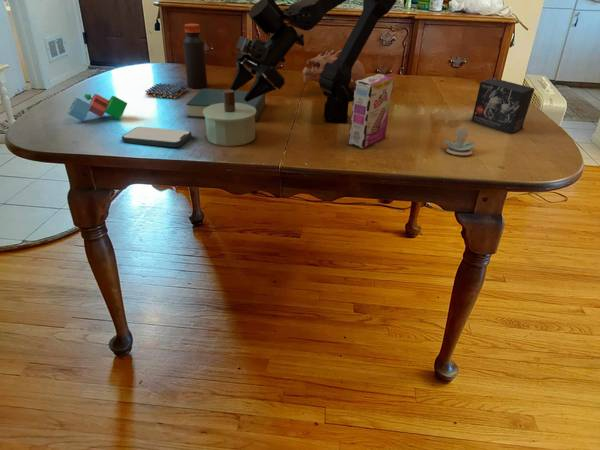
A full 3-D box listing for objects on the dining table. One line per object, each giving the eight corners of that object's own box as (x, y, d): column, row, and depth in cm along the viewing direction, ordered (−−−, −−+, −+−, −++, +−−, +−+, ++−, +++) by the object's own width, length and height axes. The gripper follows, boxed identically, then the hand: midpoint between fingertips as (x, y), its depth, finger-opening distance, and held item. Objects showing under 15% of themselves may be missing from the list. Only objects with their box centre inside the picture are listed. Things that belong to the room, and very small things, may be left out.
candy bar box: (364, 150, 116) (371, 84, 107) (347, 144, 118) (353, 80, 109) (386, 138, 123) (395, 76, 114) (370, 133, 126) (378, 72, 117)
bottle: (188, 89, 156) (182, 26, 146) (186, 84, 162) (180, 23, 151) (208, 88, 158) (203, 26, 147) (206, 83, 163) (201, 22, 153)
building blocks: (109, 135, 131) (66, 114, 125) (119, 112, 134) (78, 90, 128) (117, 126, 125) (73, 103, 119) (128, 102, 128) (85, 78, 122)
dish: (243, 125, 128) (242, 102, 124) (263, 141, 119) (262, 116, 115) (200, 132, 122) (198, 108, 119) (217, 149, 113) (215, 124, 110)
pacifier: (475, 158, 113) (470, 148, 118) (481, 134, 110) (476, 125, 115) (445, 156, 114) (442, 146, 119) (450, 132, 111) (447, 123, 116)
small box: (470, 121, 137) (479, 80, 130) (482, 116, 140) (492, 77, 134) (511, 134, 128) (523, 91, 122) (523, 129, 132) (535, 87, 126)
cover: (243, 104, 125) (243, 81, 122) (265, 119, 115) (265, 95, 112) (196, 110, 119) (193, 87, 116) (214, 127, 109) (212, 101, 106)
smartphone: (120, 143, 115) (178, 149, 112) (119, 137, 114) (178, 143, 111) (138, 131, 123) (193, 136, 120) (137, 125, 122) (193, 130, 119)
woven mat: (176, 99, 146) (175, 93, 145) (144, 97, 147) (143, 90, 146) (188, 90, 155) (187, 84, 154) (158, 88, 156) (157, 82, 155)
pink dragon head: (370, 48, 159) (336, 44, 139) (369, 93, 163) (336, 95, 143) (336, 51, 166) (299, 47, 146) (336, 93, 170) (301, 95, 150)
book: (265, 105, 144) (265, 92, 142) (255, 121, 131) (255, 108, 129) (203, 101, 146) (202, 88, 144) (187, 117, 132) (186, 103, 130)
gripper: (240, 18, 116) (202, 66, 117) (273, 30, 102) (229, 84, 104) (268, 48, 124) (232, 93, 125) (302, 63, 110) (261, 113, 111)
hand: (238, 95), depth 116 cm, fingers open, 9 cm apart
